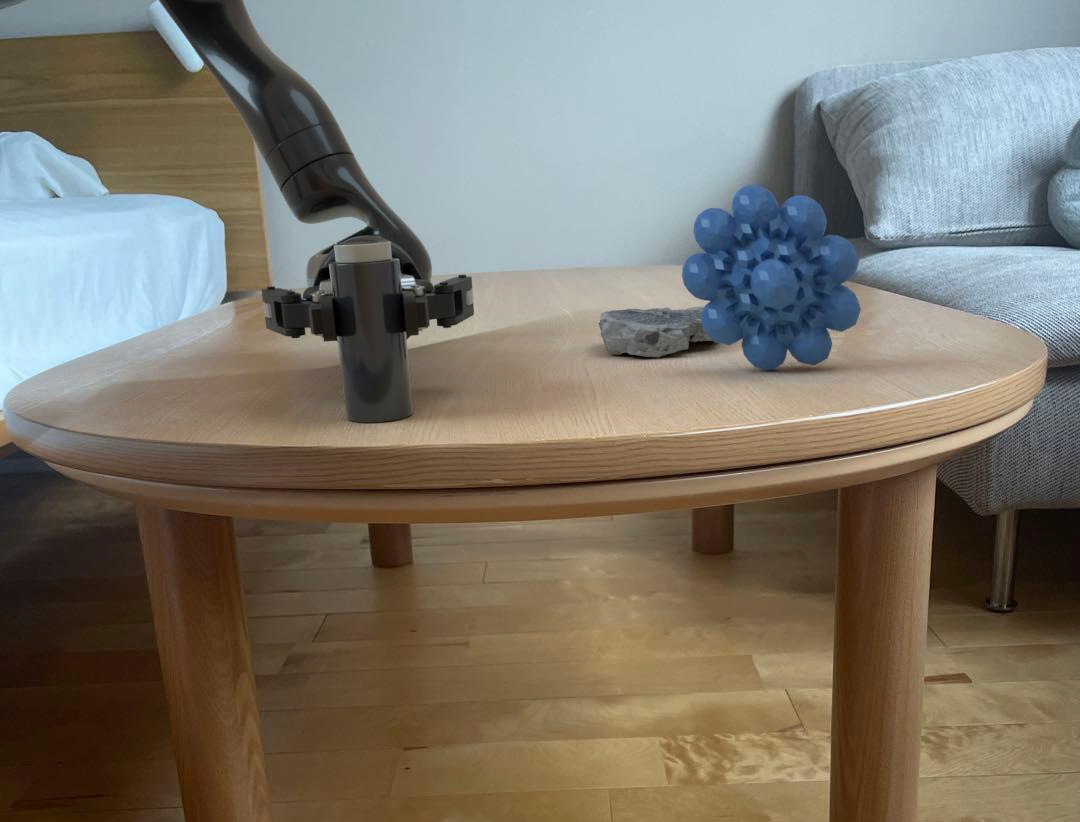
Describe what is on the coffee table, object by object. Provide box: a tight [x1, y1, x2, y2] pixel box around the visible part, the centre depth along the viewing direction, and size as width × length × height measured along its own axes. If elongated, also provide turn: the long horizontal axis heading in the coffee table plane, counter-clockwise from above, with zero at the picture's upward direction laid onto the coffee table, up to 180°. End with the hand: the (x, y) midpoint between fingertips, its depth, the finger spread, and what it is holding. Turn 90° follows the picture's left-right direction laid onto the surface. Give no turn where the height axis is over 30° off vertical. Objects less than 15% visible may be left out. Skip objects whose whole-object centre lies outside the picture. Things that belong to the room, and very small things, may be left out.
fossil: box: [598, 306, 714, 358], centre depth 82 cm, size 11×4×10 cm
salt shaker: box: [329, 241, 414, 423], centre depth 61 cm, size 4×4×10 cm
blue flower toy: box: [681, 184, 862, 371], centre depth 68 cm, size 12×7×12 cm, turn 82°
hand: (370, 319), depth 58 cm, fingers closed on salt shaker, 4 cm apart
